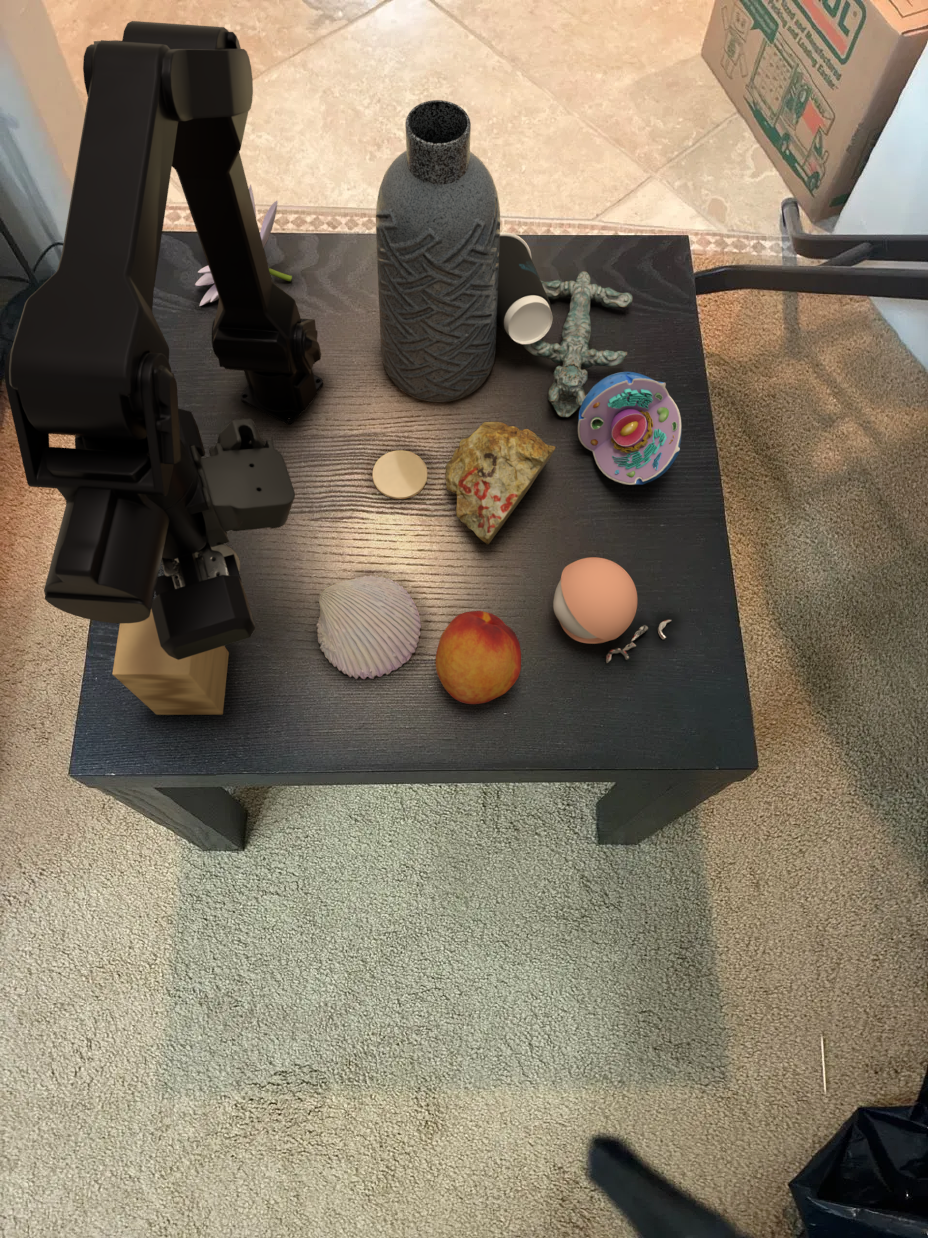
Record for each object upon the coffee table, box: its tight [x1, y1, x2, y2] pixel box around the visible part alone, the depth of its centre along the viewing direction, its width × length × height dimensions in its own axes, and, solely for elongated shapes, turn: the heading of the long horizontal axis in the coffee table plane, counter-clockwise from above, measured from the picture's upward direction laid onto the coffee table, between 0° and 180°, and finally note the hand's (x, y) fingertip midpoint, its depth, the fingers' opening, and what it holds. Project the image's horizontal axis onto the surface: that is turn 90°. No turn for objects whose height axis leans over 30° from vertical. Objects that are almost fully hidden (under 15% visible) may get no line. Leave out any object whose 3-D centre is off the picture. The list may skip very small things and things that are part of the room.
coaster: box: [371, 449, 428, 500], centre depth 89 cm, size 6×6×1 cm
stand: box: [112, 609, 230, 716], centre depth 75 cm, size 6×6×12 cm
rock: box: [444, 421, 557, 546], centre depth 86 cm, size 12×9×10 cm
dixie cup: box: [497, 231, 554, 345], centre depth 91 cm, size 8×8×11 cm
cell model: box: [577, 371, 683, 486], centre depth 86 cm, size 10×12×10 cm
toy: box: [605, 619, 672, 664], centre depth 82 cm, size 1×8×2 cm
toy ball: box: [552, 556, 638, 645], centre depth 80 cm, size 8×8×8 cm
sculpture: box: [522, 270, 633, 418], centre depth 94 cm, size 11×20×5 cm, turn 171°
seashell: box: [316, 574, 422, 680], centre depth 81 cm, size 10×6×10 cm
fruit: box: [434, 610, 522, 705], centre depth 77 cm, size 8×8×8 cm
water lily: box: [194, 184, 293, 307], centre depth 95 cm, size 15×15×9 cm
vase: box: [375, 99, 501, 403], centre depth 81 cm, size 12×12×28 cm
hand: (208, 575), depth 70 cm, fingers closed on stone, 3 cm apart
